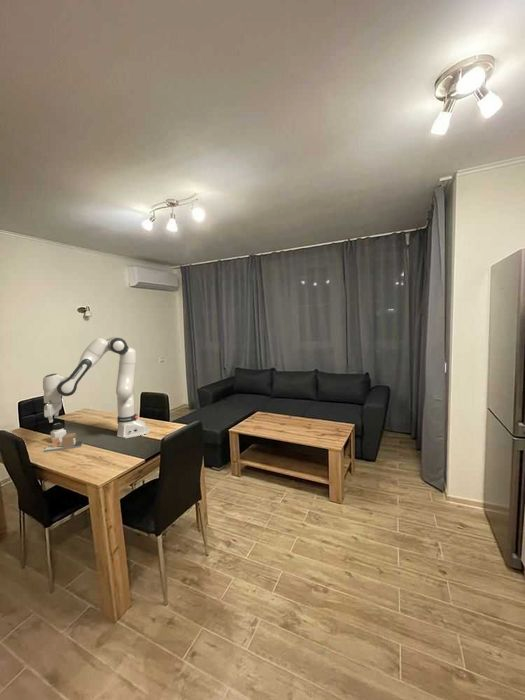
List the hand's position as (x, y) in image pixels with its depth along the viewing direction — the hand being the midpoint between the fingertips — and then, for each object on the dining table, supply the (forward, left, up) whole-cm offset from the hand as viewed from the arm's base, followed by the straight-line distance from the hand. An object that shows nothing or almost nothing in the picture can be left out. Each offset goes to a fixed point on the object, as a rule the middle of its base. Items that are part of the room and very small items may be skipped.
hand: (53, 419), depth 187 cm
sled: (-5, 0, -18) cm, 18 cm away
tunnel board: (-5, 0, -19) cm, 20 cm away
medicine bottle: (+2, -14, -19) cm, 24 cm away
